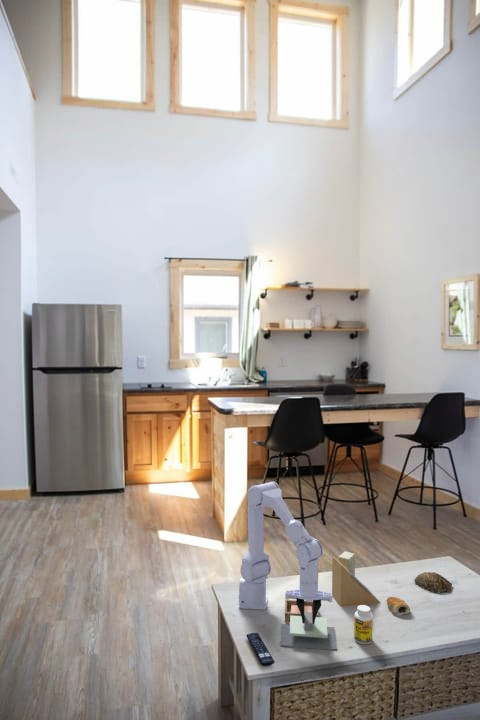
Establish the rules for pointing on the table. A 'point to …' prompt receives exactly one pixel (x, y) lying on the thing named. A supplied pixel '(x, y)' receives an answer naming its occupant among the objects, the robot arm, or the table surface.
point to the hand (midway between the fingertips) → (308, 622)
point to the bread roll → (433, 582)
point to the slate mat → (308, 640)
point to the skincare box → (348, 561)
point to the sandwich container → (349, 587)
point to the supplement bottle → (363, 625)
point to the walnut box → (296, 609)
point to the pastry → (397, 606)
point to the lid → (308, 626)
